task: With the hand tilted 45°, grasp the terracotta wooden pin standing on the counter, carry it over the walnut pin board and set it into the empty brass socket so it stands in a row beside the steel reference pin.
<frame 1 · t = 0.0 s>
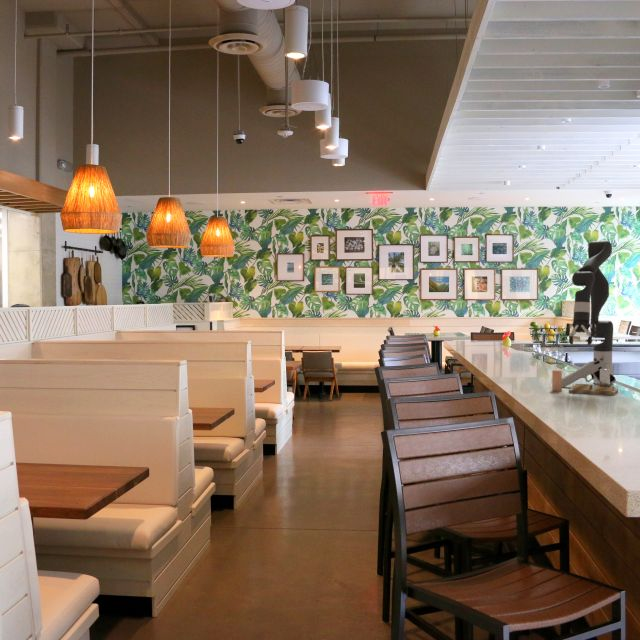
hand: (580, 344, 360), 22 cm above the table, tool pointing down, fingers open, 8 cm apart
handgun: (585, 387, 373), on the table
reference pin: (604, 390, 347), resting on pin board
pin: (556, 390, 359), on the table
pin board: (593, 392, 350), on the table
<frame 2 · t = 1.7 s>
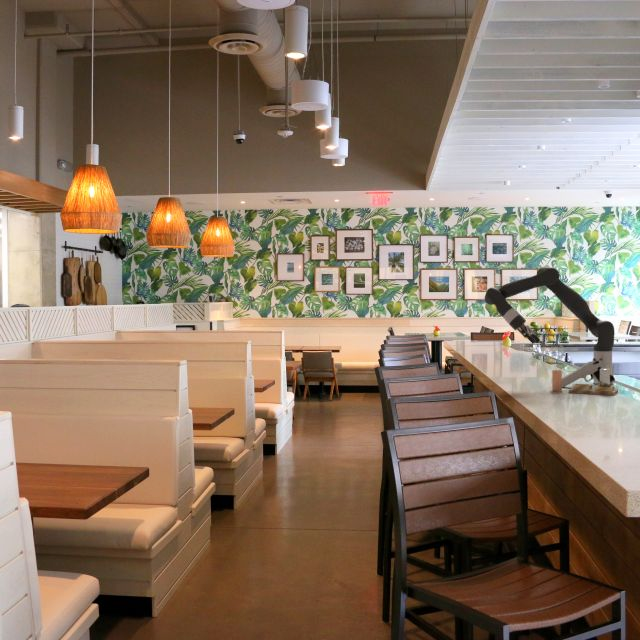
hand: (536, 342, 369), 23 cm above the table, tool tilted 45°, fingers open, 8 cm apart
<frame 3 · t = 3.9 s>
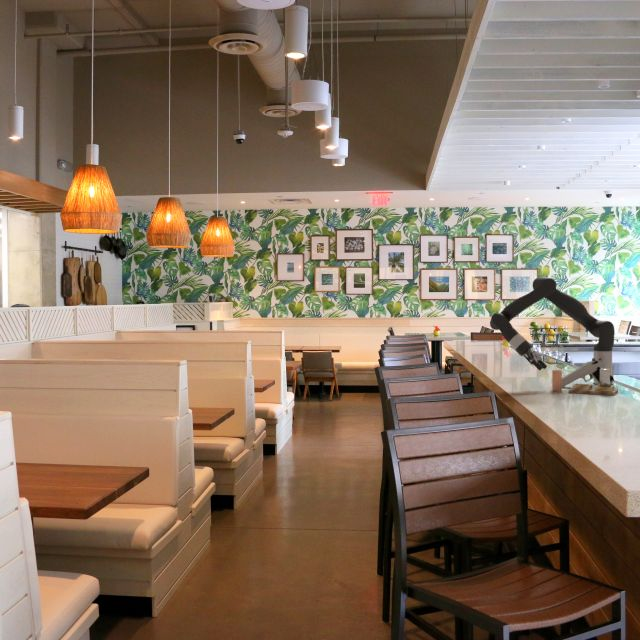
hand: (543, 368, 362), 11 cm above the table, tool tilted 45°, fingers open, 8 cm apart
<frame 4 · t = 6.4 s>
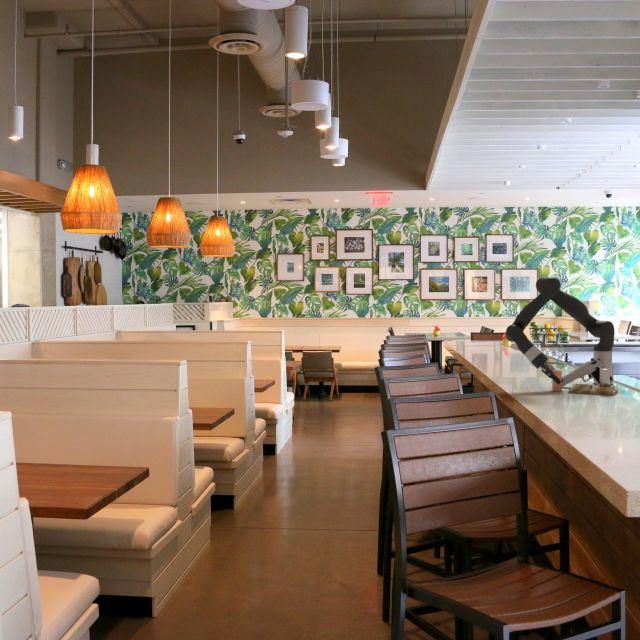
hand: (561, 382, 358), 4 cm above the table, tool tilted 45°, fingers closed on pin, 4 cm apart
pin: (557, 390, 359), on the table, touching gripper
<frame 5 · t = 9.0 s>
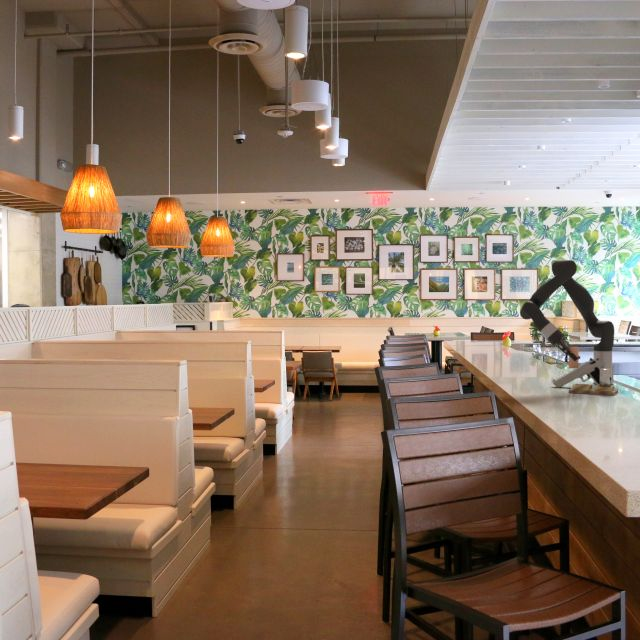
hand: (577, 359, 353), 16 cm above the table, tool tilted 45°, fingers closed on pin, 4 cm apart
pin: (573, 367, 355), point 12 cm above the table, touching gripper
when the fingers open (7 cm above the table, at t = 12.0 s): pin drops 1 cm, resting on pin board.
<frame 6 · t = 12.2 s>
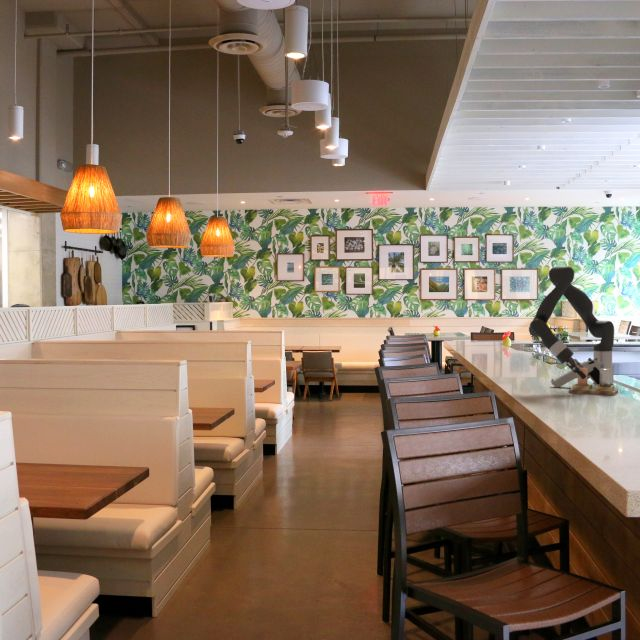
hand: (586, 377, 351), 7 cm above the table, tool tilted 45°, fingers open, 6 cm apart
pin: (582, 388, 353), point 2 cm above the table, touching pin board
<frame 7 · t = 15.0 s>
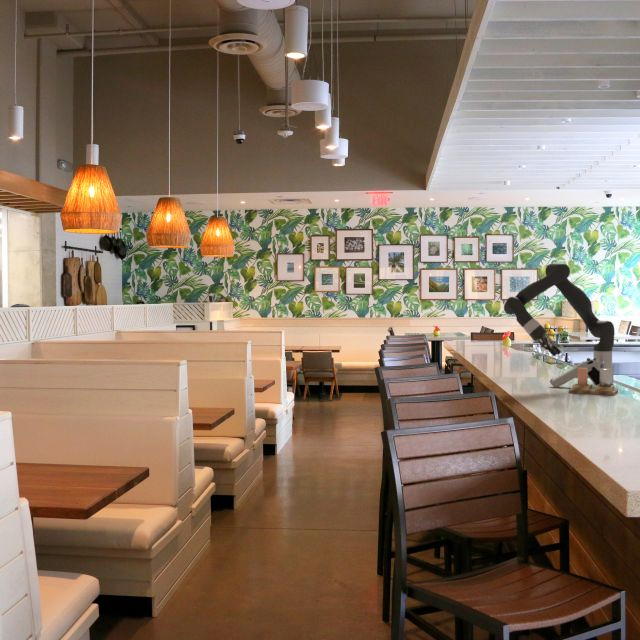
hand: (557, 354, 359), 18 cm above the table, tool tilted 45°, fingers open, 8 cm apart
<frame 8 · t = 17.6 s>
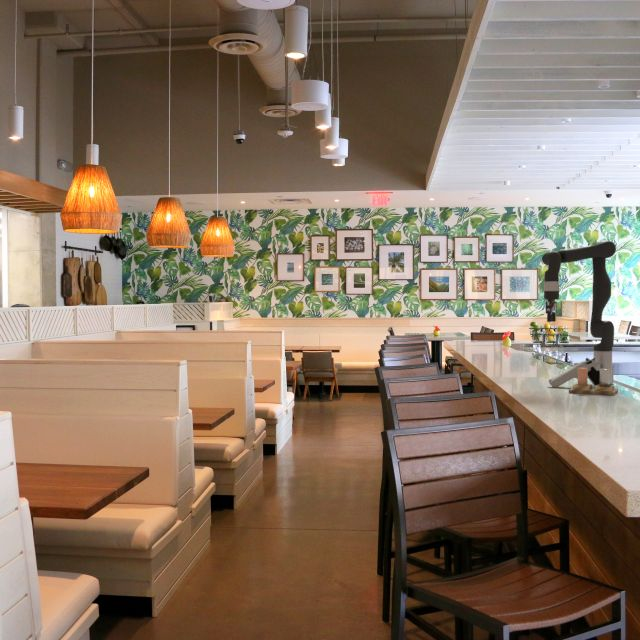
hand: (551, 321, 381), 33 cm above the table, tool pointing down, fingers open, 8 cm apart
at the end: pin 0.1 cm from the target spot on the pin board, point 1.5 cm above the pin board's base; pin tilted 1°; the gripper is holding nothing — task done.
